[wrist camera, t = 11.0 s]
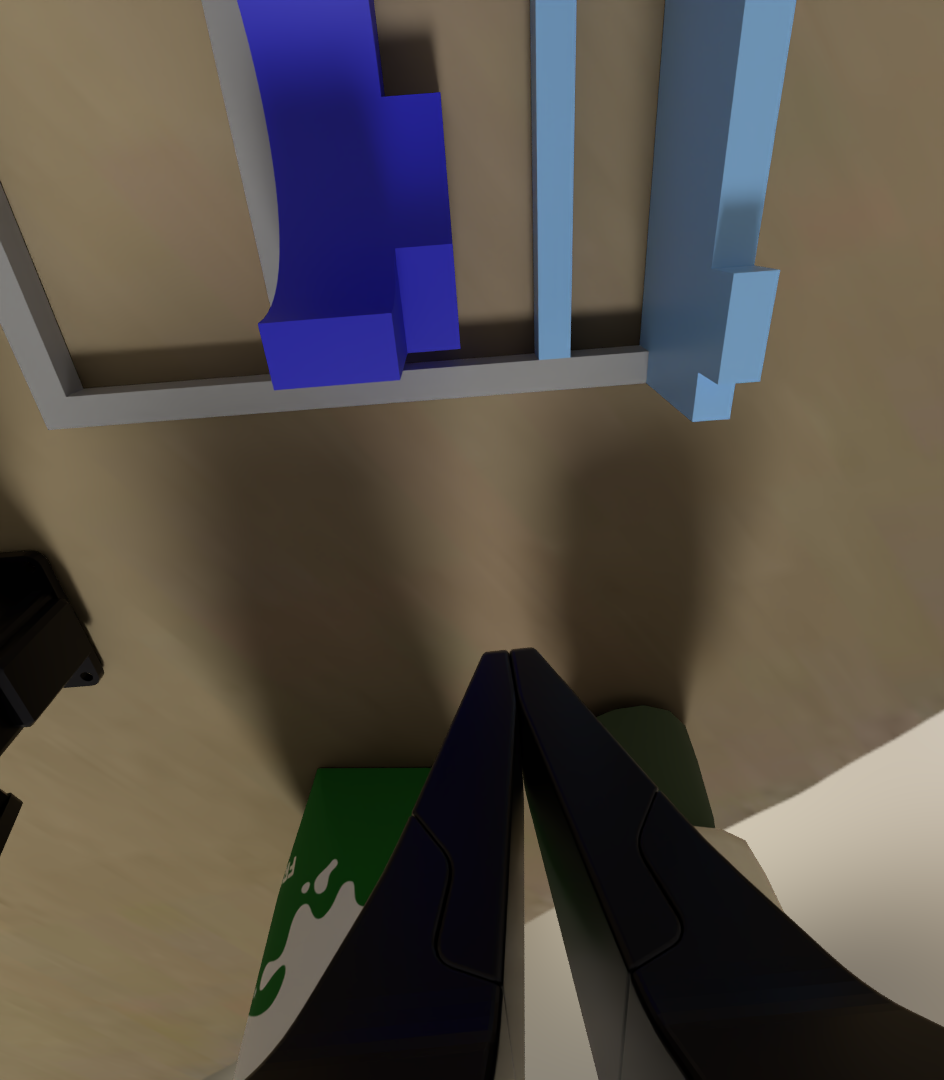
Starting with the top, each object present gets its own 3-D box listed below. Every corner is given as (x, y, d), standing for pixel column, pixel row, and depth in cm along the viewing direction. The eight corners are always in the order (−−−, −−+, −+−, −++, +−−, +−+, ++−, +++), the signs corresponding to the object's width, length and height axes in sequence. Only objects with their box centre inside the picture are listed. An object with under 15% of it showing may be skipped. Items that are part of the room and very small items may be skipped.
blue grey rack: (65, 420, 20) (-78, 499, 14) (-264, -347, 12) (-871, -824, 6) (666, 373, 20) (750, 434, 14) (745, -421, 12) (1001, -961, 6)
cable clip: (458, 330, 19) (463, 374, 14) (321, 340, 19) (273, 390, 14) (414, -231, 13) (394, -531, 8) (214, -216, 13) (57, -505, 8)
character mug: (493, 720, 28) (528, 1073, 16) (615, 639, 25) (752, 981, 14) (623, 820, 32) (721, 1155, 21) (737, 758, 30) (917, 1094, 18)
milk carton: (471, 858, 33) (501, 1578, 16) (310, 861, 32) (156, 1609, 15) (479, 753, 29) (532, 1587, 11) (294, 754, 28) (51, 1629, 11)
